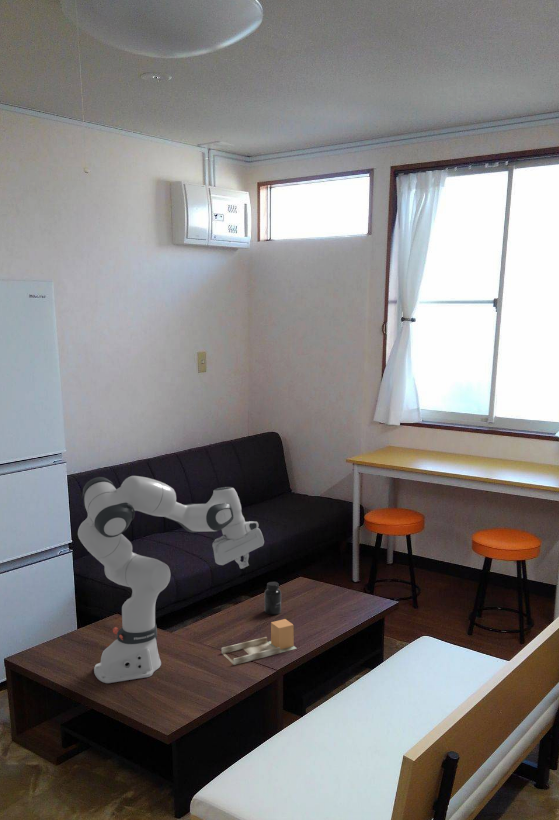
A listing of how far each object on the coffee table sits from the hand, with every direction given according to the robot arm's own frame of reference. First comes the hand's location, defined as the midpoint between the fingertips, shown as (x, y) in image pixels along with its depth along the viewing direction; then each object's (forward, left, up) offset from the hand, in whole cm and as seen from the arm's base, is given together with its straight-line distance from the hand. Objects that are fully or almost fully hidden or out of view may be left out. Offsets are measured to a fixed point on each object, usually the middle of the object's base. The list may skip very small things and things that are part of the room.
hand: (244, 567), depth 251 cm
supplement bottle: (+25, +25, -31) cm, 47 cm away
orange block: (+12, -6, -29) cm, 32 cm away
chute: (+2, -6, -31) cm, 32 cm away
